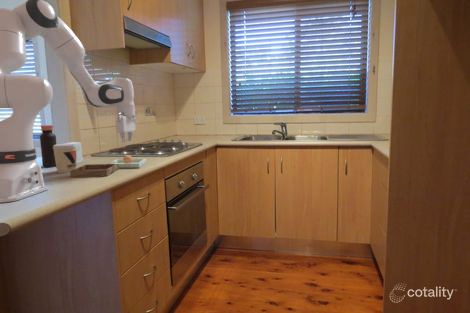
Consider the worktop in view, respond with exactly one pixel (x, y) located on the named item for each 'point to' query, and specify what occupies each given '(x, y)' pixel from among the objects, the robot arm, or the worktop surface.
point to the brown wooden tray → (94, 170)
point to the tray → (135, 163)
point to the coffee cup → (65, 157)
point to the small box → (78, 151)
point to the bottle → (48, 146)
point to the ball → (127, 159)
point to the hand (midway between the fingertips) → (127, 141)
